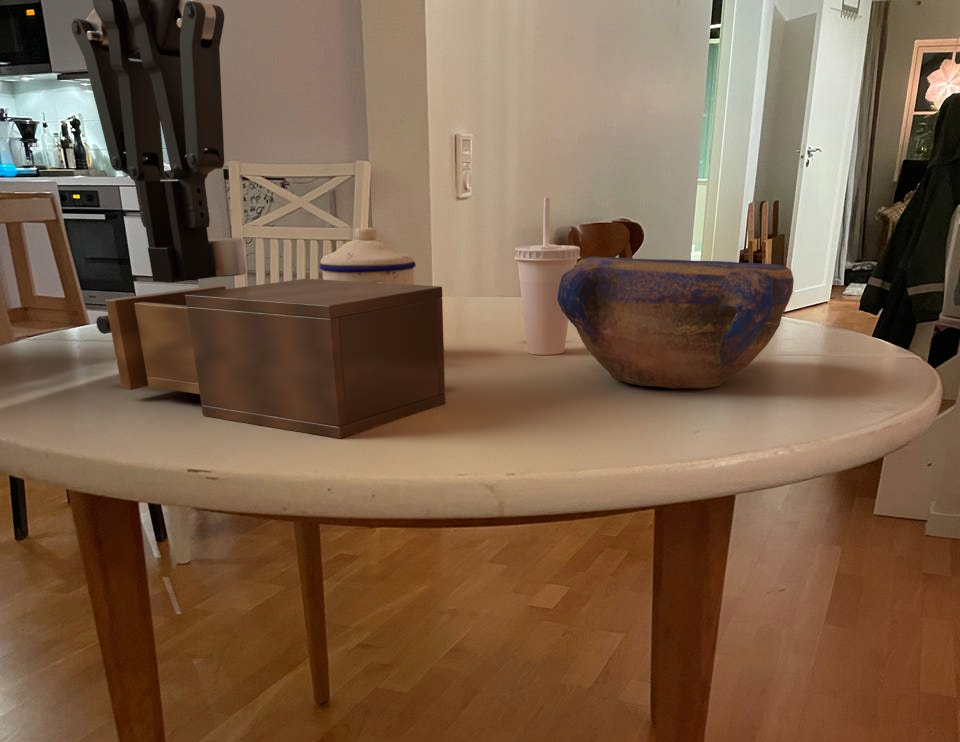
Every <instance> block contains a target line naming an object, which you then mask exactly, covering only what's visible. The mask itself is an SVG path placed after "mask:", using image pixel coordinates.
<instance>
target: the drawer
mask: <svg viewBox="0 0 960 742" xmlns="http://www.w3.org/2000/svg"><path fill="white" fill-rule="evenodd" d="M224 289H227V286H225V285H209V286H202V287H193V288H187V289H186V288H185V289H177V290H171V291H170V290H169V291H163V292H162V291H161V292H154V293H147V294H139V295H132V296H123V297H116V298H107V299H105V305H106V312H107V315H99V316H97V319H96V321H95V322H96V328H97V329H98V331H99V332H100V333H101V334H103V335H106V334H107V335H108V334H111V338H112V343H113V349H114V354H115V359H116V364H117V370H118V376H119V381H120V386H121V389H123V390H128V391H134V390H138V389H142V388H143V389H144V388H147V387H150V388H156V389H163V390H169V391H177V392H183V393H190V394H195V395H196V394H197V395H200V392H199V386H198V379H197V372H196V365H195V359H194V352H193V345H192V338H191V332H190V325H189V318H188V312H187V307H188V306H187V305H186V298H185V295H187V294H194V293H202V292H209V291H217V290H224Z"/></svg>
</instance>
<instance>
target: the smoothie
mask: <svg viewBox="0 0 960 742" xmlns="http://www.w3.org/2000/svg"><path fill="white" fill-rule="evenodd" d="M550 201H551V197H549V196H547V197H543V219H542V220H543V226H542V227H543V228H542V232H543V233H542V244H541V245H540V244H539V245H522V246H516V247H515V248H514V257H513V259H514V260H517V268H518V279H519V289H520V296H521V297H520V298H521V306H522V307H521V308H522V317H523V325H524V335H525V343H526V345H525V346H526V352H527V353H528V354H530V355H539V356H550V355H553V356H554V355H560V354H563V353H565V347H566V340H567V333H568V325H569V321H570V320H569V319H568V318H567V317H566V315H565V314H564V313H563V312H562V310H561V307H560V305H559V303H558V300H557V299H558V291H559V285H560V282H561V278H562V276H563V275H564V274H565V273H566V272H567V271H569V270H571V269H573V268H574V266H575V265H576V264H577V263H578V260H581V258H582V257H581V247H580V246H577V245H562V244H561V245H558V244H552V243H550V207H551V206H550V203H551V202H550Z"/></svg>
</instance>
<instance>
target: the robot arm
mask: <svg viewBox="0 0 960 742" xmlns="http://www.w3.org/2000/svg"><path fill="white" fill-rule="evenodd" d="M92 5H93V9H92V10H91V11H90V13H89V15H88V16H87V17H86V18H85V19H82V18H74V19H73V20H71V21H72V22H71V31H72V34H73V37H74V38H75V41H76V43H77V46H78V47H79V49H80V51H81V54H82V55H83V58H84V62H85V66H86V70H87V75H88V78H89V82H90V86H91V90H92V94H93V98H94V102H95V107H96V110H97V115H98V118H99V121H100V122H99V123H100V127H101V131H102V134H103V138H104V142H105V147H106V150H107V154H108V158H109V162H110V165H111V168H112V169H113V170H114V171H116V172H123V173H124V174H127V175H128V177H129V178H130V179H131V180H132V181H133V182H134V186H135V191H136V197H137V204H138V209H139V215H140V221H141V223H142V225H143V228H145V233H146V239H147V246H148V247H158V246H169V245H174V248H175V253H176V260H177V266H178V273H179V277H185V278H186V277H195V276H204V275H212V274H213V270H212V263H211V256H210V249H209V241H208V239H209V235H208V228H209V227H210V221H211V218H210V211H209V205H208V196H207V190H206V188H207V187H206V179H207V178H208V175H209V174H210V173H212V172H213V171H214V170H220V169H222V168H224V165H225V141H224V123H223V122H224V121H223V100H222V99H223V98H222V77H221V75H222V74H221V73H222V72H221V53H220V51H221V50H220V45H221V41H222V37H223V35H222V34H223V29H224V24H225V12H224V10H223V8H222V7H221V5H217V4H212V3H207V2H206V3H205V2H204V1H202V0H92ZM131 59H132V60H131ZM137 60H138V61H137ZM140 60H141V61H140ZM162 135H163V137H162ZM162 139H163V140H164V145H165V149H166V154H167V159H168V162H169V169H168V170H165V159H164V150H163V148H164V147H163V140H162Z"/></svg>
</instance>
